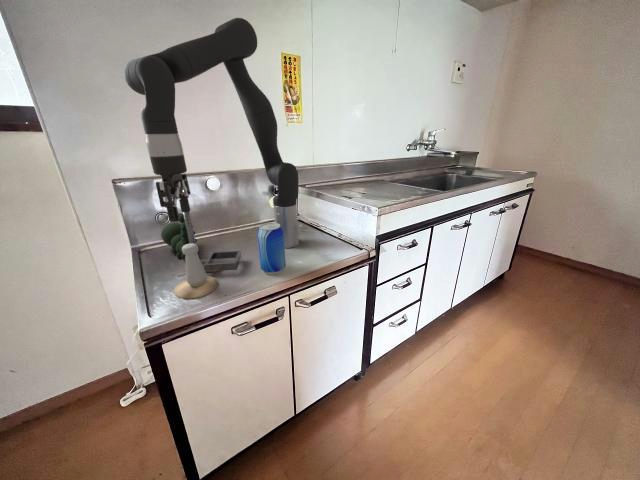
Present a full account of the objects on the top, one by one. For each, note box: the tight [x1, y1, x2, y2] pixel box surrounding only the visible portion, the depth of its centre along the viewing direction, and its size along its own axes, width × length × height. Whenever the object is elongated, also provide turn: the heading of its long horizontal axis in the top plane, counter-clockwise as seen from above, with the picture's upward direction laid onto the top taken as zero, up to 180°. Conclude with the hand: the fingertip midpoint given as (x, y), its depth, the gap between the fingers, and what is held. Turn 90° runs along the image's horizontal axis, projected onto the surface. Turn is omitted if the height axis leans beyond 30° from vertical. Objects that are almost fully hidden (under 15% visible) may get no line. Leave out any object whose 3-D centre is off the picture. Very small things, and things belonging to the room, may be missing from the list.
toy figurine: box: [160, 212, 198, 260], centre depth 100 cm, size 9×19×25 cm
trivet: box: [173, 275, 219, 300], centre depth 80 cm, size 12×12×1 cm
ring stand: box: [182, 211, 242, 273], centre depth 87 cm, size 16×10×22 cm, turn 97°
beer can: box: [256, 222, 287, 276], centre depth 87 cm, size 8×8×16 cm
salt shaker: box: [182, 243, 208, 287], centre depth 79 cm, size 6×6×13 cm
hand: (181, 216), depth 71 cm, fingers open, 8 cm apart
